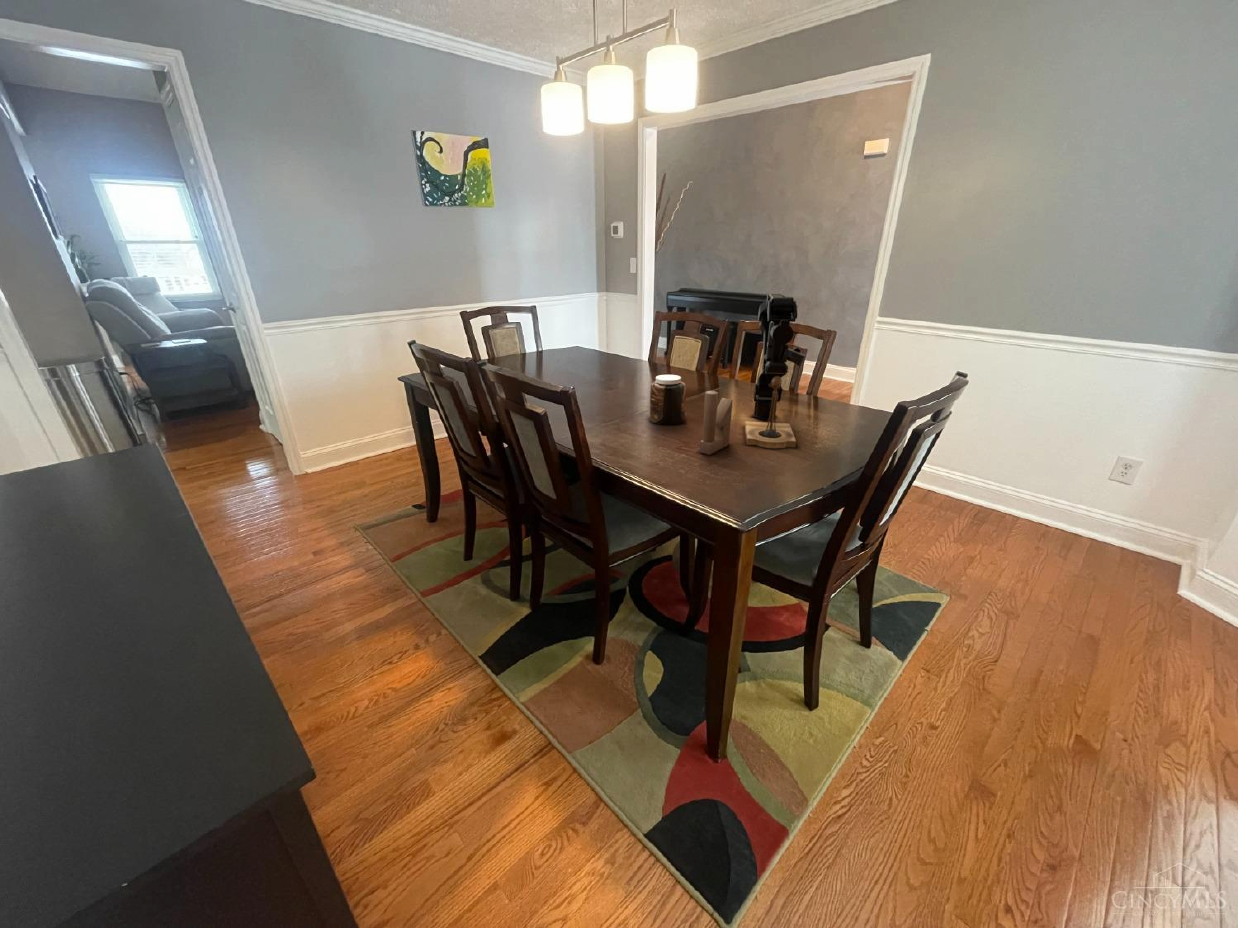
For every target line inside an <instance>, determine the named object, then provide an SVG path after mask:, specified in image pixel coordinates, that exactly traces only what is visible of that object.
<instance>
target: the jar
mask: <svg viewBox="0 0 1238 928" xmlns="http://www.w3.org/2000/svg"><path fill="white" fill-rule="evenodd" d="M686 387H687V386H686V383H685V382H683V381H682V376H680V375H676V374H660V375H656V376H655V381H652V382H651V383H650V391H649V420H650V422H651V423H653V424H657V425H663V426H673V425H674V426H675V425H679V424H683V422H685V417H686V398H687V395H686V394H687V388H686Z"/></svg>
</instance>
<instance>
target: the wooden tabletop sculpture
mask: <svg viewBox="0 0 1238 928" xmlns="http://www.w3.org/2000/svg"><path fill="white" fill-rule="evenodd" d="M782 384H783V379H782V377H780V376H775V377H774V378H773V379H772V381H771V383H769V386H770V387H771V386H772V388H774V391H773V395H772V404H771V411H770V417H769V420H767V423H768V425H767V428H766V430H765V431H764V432H763V434H762V437H765V438H778V435H777V432H776V426H775V423H776V418H777V417H776V415H777V407H776V406H778V405H777V403H778V402H777V397H778V392H777V389H778V388H779V387H780V386H781V387H782ZM775 402H776V403H775ZM774 410H775V413H774ZM770 418H771V419H770ZM769 423H770V428H769V429H768V426H769ZM773 423H774V428H775V430H774V429H773V428H772V427H773Z"/></svg>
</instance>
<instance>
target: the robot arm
mask: <svg viewBox="0 0 1238 928" xmlns="http://www.w3.org/2000/svg"><path fill="white" fill-rule="evenodd" d="M797 319H798V304H797V301H796V300H795V298H794V296H784V294H782V293H769V294H767V296H766V299H765V300H763V301H762V303H761V304H760V305H759V309H758V314H757V322H758V323H759V329H760V331H761V333H762V334H763V343H762V363H761V364H762V366H761V373H760V374H759V376H758V378H757V381H756V383H754V388H753V394H752V399H753V402H754V409H753V414H751V415H750V416H751V417H752V418H754V419H759V420H762V421H767V422H768V421H769V417H770V411H771V404H772V395H773V391H774V388H772V386H771V387H770V386H769V383H771V381H772V379H773V378H774V377H775V376H780V377H781V378H783V377H784V376H786V375H787V374H788V371H789V365H788V364H787V362H791V363H793V364H796V366H798V367H801V366H802V364H803V362H804V360H805V359H806V355H805V354H804V353H803V352H801V348H799V347H797V346H794V348H789V343H790V342H791V341H793V340H792V339H793V338H794V329H793V328H792V327H791V326H790V324H791V323H796V320H797ZM783 390H784V389H783V387H782V385H781V386H780V387H779V388H778V389H777V392H778V397H777V403H780V401H781V399H782V395H783ZM775 403H776V402H775ZM777 407H778V405H776V408H777ZM774 413H775V410H774ZM777 417H778V415H777V414H776V417H775V418H777ZM770 420H771V418H770Z"/></svg>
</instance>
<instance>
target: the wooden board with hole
mask: <svg viewBox="0 0 1238 928" xmlns="http://www.w3.org/2000/svg"><path fill="white" fill-rule="evenodd" d="M767 425H768V422H761V421H745V422H744V433H745V440H746V445H747V446H757V447H759V448H765V449H784V448H796V444H797V440H796V438H795V435H794V432H793V430H792V429H793V428H792V427H791V424H790V423H782V422H775V426H776V432H777V435H778V438H765V437H762V434H763V432H764V431H765V430H766V428H767ZM769 428H770V422H769V426H768V429H769ZM772 428H773V429H774V430H775V428H774V422H773V427H772Z"/></svg>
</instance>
